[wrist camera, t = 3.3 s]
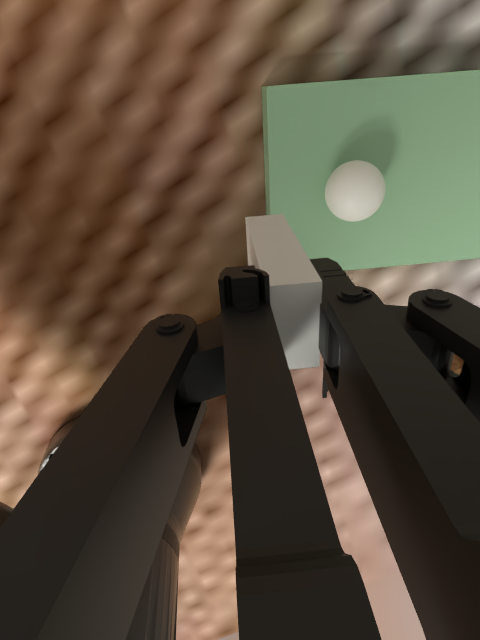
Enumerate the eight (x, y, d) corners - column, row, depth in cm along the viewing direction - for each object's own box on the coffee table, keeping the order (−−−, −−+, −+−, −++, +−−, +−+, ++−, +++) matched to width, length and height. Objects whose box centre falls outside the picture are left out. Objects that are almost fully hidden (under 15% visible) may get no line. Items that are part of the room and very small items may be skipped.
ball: (317, 215, 28) (332, 231, 24) (319, 158, 26) (335, 167, 23) (370, 210, 28) (391, 226, 25) (375, 154, 26) (398, 162, 23)
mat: (267, 264, 32) (276, 288, 28) (261, 86, 26) (271, 85, 22) (593, 235, 32) (645, 254, 29) (658, 56, 27) (735, 49, 23)
